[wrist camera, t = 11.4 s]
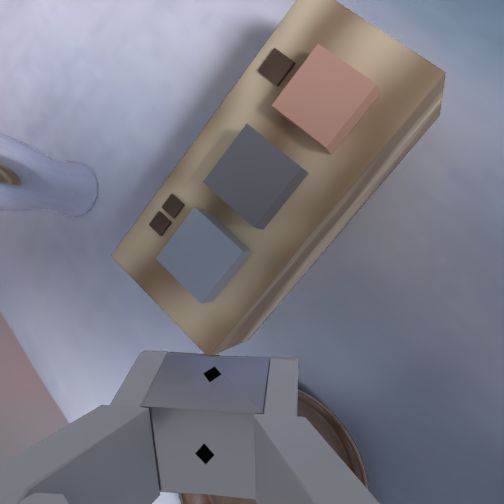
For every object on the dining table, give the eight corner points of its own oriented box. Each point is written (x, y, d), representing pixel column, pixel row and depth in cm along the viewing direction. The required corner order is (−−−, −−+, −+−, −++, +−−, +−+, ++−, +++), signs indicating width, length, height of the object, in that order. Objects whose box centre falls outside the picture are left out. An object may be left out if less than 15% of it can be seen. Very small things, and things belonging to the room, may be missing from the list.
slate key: (252, 251, 34) (242, 251, 32) (212, 301, 35) (200, 303, 33) (206, 209, 35) (194, 206, 33) (169, 258, 36) (155, 258, 34)
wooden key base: (439, 114, 38) (445, 70, 30) (249, 339, 44) (206, 357, 35) (331, 40, 42) (307, -20, 33) (166, 257, 47) (108, 255, 38)
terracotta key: (379, 95, 31) (376, 84, 29) (331, 154, 32) (326, 147, 30) (324, 56, 32) (318, 43, 31) (279, 114, 33) (271, 105, 32)
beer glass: (63, 231, 52) (-71, 219, 37) (43, 177, 53) (-93, 145, 39) (110, 203, 49) (-14, 179, 35) (88, 147, 51) (-39, 102, 37)
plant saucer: (407, 439, 39) (406, 453, 36) (319, 608, 41) (312, 634, 38) (233, 339, 44) (220, 344, 42) (164, 492, 47) (147, 507, 44)
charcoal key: (308, 173, 31) (301, 167, 29) (263, 229, 32) (253, 227, 30) (256, 131, 33) (246, 123, 31) (214, 186, 34) (202, 182, 32)
